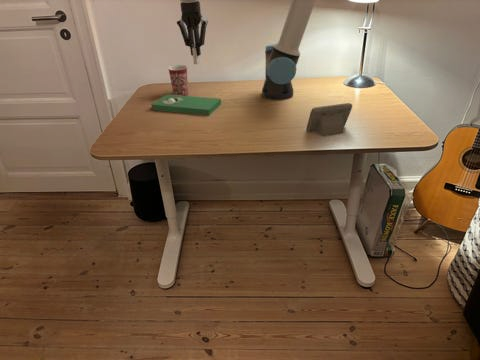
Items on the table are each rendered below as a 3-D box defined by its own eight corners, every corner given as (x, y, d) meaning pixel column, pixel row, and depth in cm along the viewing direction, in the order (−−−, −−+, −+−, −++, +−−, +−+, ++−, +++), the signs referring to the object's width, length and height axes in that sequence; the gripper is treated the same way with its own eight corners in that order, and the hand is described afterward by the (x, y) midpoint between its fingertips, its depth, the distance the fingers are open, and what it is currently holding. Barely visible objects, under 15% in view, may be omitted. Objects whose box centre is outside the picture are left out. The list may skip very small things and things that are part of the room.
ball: (169, 96, 161) (170, 103, 163) (165, 99, 158) (166, 106, 160) (176, 97, 160) (177, 104, 162) (172, 99, 157) (173, 107, 159)
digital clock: (345, 125, 136) (348, 99, 130) (352, 135, 128) (356, 107, 122) (303, 127, 135) (305, 101, 130) (308, 137, 128) (311, 110, 122)
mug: (189, 97, 169) (186, 69, 162) (170, 98, 169) (166, 70, 162) (191, 89, 180) (188, 62, 173) (174, 89, 180) (170, 63, 173)
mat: (221, 104, 160) (221, 98, 159) (209, 115, 149) (208, 109, 148) (167, 99, 169) (166, 94, 167) (152, 109, 158) (151, 104, 156)
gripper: (209, -1, 136) (214, 61, 148) (179, 0, 140) (186, 60, 152) (201, 2, 130) (207, 66, 143) (170, 2, 134) (179, 65, 146)
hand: (196, 63), depth 147 cm, fingers closed
